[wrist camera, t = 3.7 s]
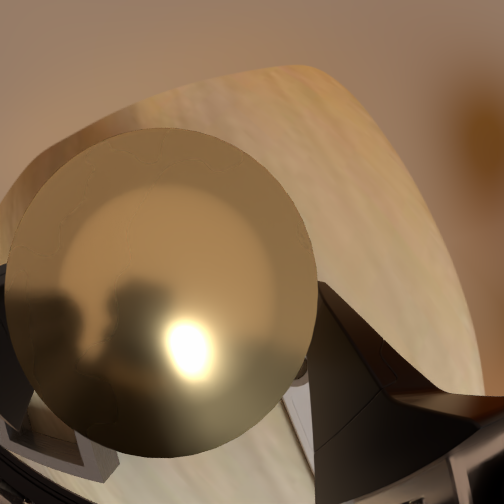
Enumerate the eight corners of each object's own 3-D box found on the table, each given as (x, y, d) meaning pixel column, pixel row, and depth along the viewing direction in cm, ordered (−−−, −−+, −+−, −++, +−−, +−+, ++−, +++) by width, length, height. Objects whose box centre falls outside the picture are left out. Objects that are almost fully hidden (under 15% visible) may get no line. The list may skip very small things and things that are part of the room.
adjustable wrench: (261, 351, 15) (265, 354, 14) (355, 321, 16) (368, 319, 15) (326, 568, 9) (332, 578, 8) (388, 541, 10) (395, 549, 9)
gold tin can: (210, 375, 14) (164, 512, 2) (147, 319, 15) (-26, 283, 3) (264, 312, 16) (384, 260, 4) (201, 258, 16) (148, 89, 4)
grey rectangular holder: (-2, 426, 10) (-23, 432, 7) (-18, 327, 13) (-41, 323, 10) (119, 463, 12) (103, 483, 9) (98, 339, 14) (73, 340, 11)
